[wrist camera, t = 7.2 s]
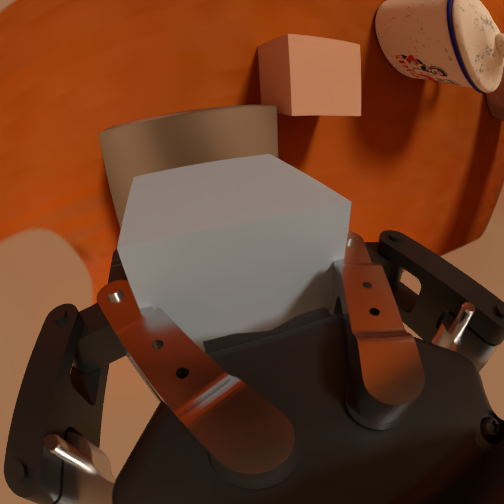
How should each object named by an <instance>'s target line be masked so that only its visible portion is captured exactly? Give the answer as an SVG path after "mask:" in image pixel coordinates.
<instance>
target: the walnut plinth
mask: <svg viewBox="0 0 504 504" xmlns="http://www.w3.org/2000/svg"><path fill="white" fill-rule="evenodd" d="M99 139H100V144H101V150H102V155H103V160H104V165H105V169H106V174H107V178H108V183H109V187H110V191H111V195H112V199H113V203H114V207H115V211H116V215H117V218H118V222H119V225H120V229H121V227H122V222H123V218H124V213H125V209H126V205H127V201H128V197H129V193H130V189H131V186H132V182H133V179H134V177H136V176H140V175H145V174H149V173H154V172H159V171H164V170H169V169H174V168H179V167H184V166H190V165H195V164H201V163H207V162H213V161H220V160H226V159H233V158H241V157H249V156H257V155H265V154H271V155H273V156H275V157H276V158H278V130H277V106H270V105H259V104H247V105H234V106H223V107H214V108H205V109H198V110H191V111H184V112H178V113H172V114H166V115H160V116H155V117H150V118H145V119H141V120H136V121H132V122H127V123H123V124H119V125H115V126H111V127H109V128H107V129H106V130H104V131H102V132H100V133H99Z"/></svg>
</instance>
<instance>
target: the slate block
mask: <svg viewBox="0 0 504 504" xmlns="http://www.w3.org/2000/svg"><path fill="white" fill-rule="evenodd" d="M351 203H352V202H351V201H349V200H347V199H346V198H344V197H343V196H341V195H340V194H338V193H336V192H335V191H333V190H332V189H330V188H328V187H327V186H325V185H323V184H322V183H320V182H318V181H317V180H315V179H313V178H312V177H310V176H308V175H307V174H305V173H303V172H301V171H300V170H298V169H296V168H294V167H293V166H291V165H289V164H287V163H285V162H284V161H282V160H280V159H278V158H276V157H275V156H273V155H271V154H265V155H257V156H249V157H241V158H233V159H226V160H220V161H213V162H207V163H201V164H195V165H190V166H184V167H179V168H174V169H169V170H164V171H159V172H154V173H149V174H145V175H140V176H136V177H134V179H133V182H132V186H131V189H130V193H129V197H128V201H127V205H126V209H125V213H124V218H123V222H122V227H121V231H120V236H119V241H118V246H117V250H118V253H119V256H120V259H121V262H122V265H123V268H124V270H125V273H126V276H127V279H128V281H129V284H130V287H131V289H132V292H133V294H134V297H135V299H136V302H137V304H138V307H139V309H140V308H144V307H149V306H151V307H152V308H153V309H154V310H155V309H157V308H161V309H162V310H163V311H164V312H165V313H166V314H167V315H168V316H169V317H170V318H171V320H172V321H173V322H174V323H175V324H176V325H177V326H178V327H179V328H180V329H181V330H182V331H183V332H184V333H185V334H186V335H187V336H188V337H189V338H190V339H191V340H192V341H193V342H194V343H195V344H196V345H197V346H198V347H199V348H200V349H202V350H203V351H205V348H204V345H203V341H207V340H211V339H215V338H219V337H223V336H227V335H231V334H235V333H249V332H262V331H270V330H272V329H274V328H276V327H278V326H280V325H282V324H283V323H285V322H287V321H289V320H290V319H292V318H294V317H296V316H297V315H300V314H303V313H306V312H309V311H313V310H316V309H319V308H322V307H325V308H329V307H330V302H331V297H332V291H333V276H332V270H333V263H334V261H336V260H340V259H344V256H345V249H346V242H347V235H348V228H349V220H350V212H351Z"/></svg>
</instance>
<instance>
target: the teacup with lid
mask: <svg viewBox="0 0 504 504" xmlns="http://www.w3.org/2000/svg"><path fill="white" fill-rule="evenodd" d="M375 28H376V34H377V38H378V42H379V44H380V47H381V49H382V51H383V53H384V55H385V56H386V58H387V59H388V61H389V62H390V63H391V65H392V66H393V67H394V68H395V69H396V70H397V71H399V72H400V73H402V74H403V75H405V76H407V77H411V78H418V79H426V80H433V81H439V82H445V83H450V84H456V85H461V86H465V87H470V88H474V89H475V90H476V91H478V92H480V93H490V92H493V91H494V90H496V89H497V87H498V86H499V84H500V82H501V78H502V73H503V67H504V34H501V33H500V31H499V29H498V27H497V26H496V24H495V23H494V21H493V19H492V17H491V16H490V14H489V12H488V11H487V9H486V8H485V6H484V5H483V4H482V3H481V2H480V1H479V0H388V1H385V2H384V3H383V4H382V5H381V6H380V7H379V9H378V11H377V14H376V19H375Z"/></svg>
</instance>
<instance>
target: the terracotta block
mask: <svg viewBox="0 0 504 504" xmlns="http://www.w3.org/2000/svg"><path fill="white" fill-rule="evenodd" d="M257 47H258V62H259V77H260V93H261V105H270V106H277V113H279V114H284V115H290V116H308V115H339V116H361V60H360V44H355V43H350V42H345V41H340V40H334V39H328V38H321V37H314V36H306V35H296V34H286V35H283V36H281V37H278V38H276V39H273V40H271V41H268V42H266V43H264V44H262V45H259V46H257Z"/></svg>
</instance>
